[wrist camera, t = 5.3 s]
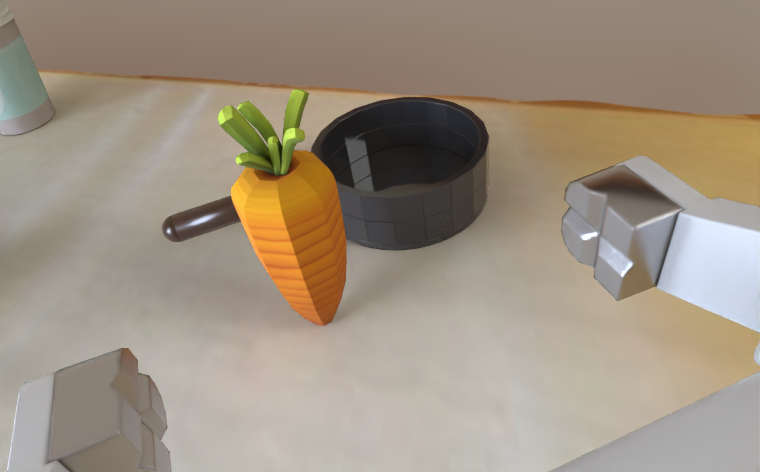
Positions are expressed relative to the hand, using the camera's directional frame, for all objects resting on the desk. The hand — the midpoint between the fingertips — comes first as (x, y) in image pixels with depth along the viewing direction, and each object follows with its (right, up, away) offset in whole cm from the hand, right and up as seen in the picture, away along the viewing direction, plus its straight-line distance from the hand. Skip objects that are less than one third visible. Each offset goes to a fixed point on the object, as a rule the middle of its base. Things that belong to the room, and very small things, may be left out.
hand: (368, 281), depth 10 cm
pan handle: (-9, +2, +27) cm, 29 cm away
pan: (+2, +4, +31) cm, 31 cm away
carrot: (-3, -5, +23) cm, 24 cm away
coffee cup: (-37, +13, +49) cm, 63 cm away
